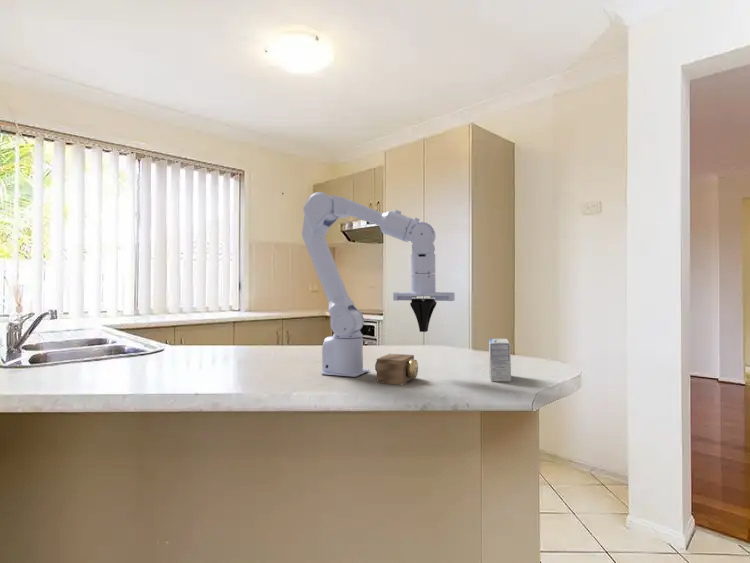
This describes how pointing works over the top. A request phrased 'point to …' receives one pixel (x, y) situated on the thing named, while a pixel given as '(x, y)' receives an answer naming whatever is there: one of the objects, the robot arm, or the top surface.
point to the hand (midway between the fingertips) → (423, 331)
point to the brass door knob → (409, 368)
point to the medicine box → (499, 360)
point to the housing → (393, 368)
